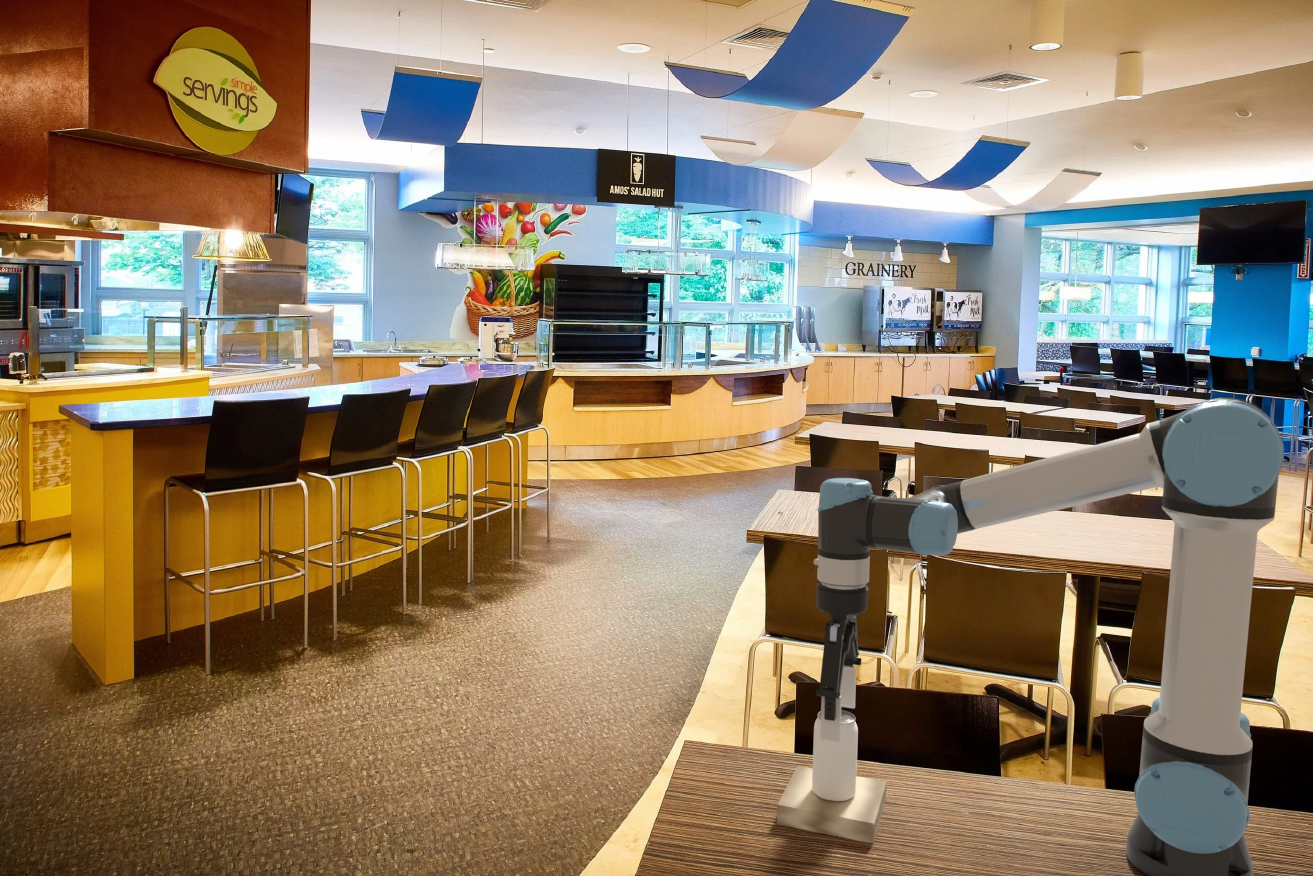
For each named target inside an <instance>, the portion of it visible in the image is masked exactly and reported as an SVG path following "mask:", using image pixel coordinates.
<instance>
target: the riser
mask: <svg viewBox="0 0 1313 876" xmlns="http://www.w3.org/2000/svg"><path fill="white" fill-rule="evenodd" d="M812 772H813V767H808V766H802V765H797V766H796V768H795V770H794V772H793V774H792V775H791V778H790V779H789V782H788V784H787V786H786V787H785V789H784V791H783V793H782V794H781V797H780V799H779V801H778V803H777V806H776V807H777V808H776V811H777V812H776V825H780V826H785V827H788V826H789V827H790V828H795V829H799V830H804V831H809V832H813V833H820V834H824V835H829V836H832V837H837V836H838V838H842V837H843V839H847V840H848V839H849V840H851V841H852V840H853V841H858V842H861V843H862V842H863V843H868V844H874V843H875V839H876V835H877V832H878V829H879V826H880V825H879V824H880V822H881V819H882V816H883V811H884V807H885V804H886V800H887V781H886V780H881V779H875V778H871V777H869V778H868V777H863V776H859V775H858V776H857V775H856V792H855V795H854V796H853V797H852V798H851V799H850V800H848V801H844V802H831V801H826V800H823V799H821V798H819V797H818V796H816V795H815V793H814V792H813V790H812ZM789 827H788V828H789Z"/></svg>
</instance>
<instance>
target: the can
mask: <svg viewBox="0 0 1313 876" xmlns="http://www.w3.org/2000/svg"><path fill="white" fill-rule="evenodd" d="M820 737H821V710H820V711H818V713H817V718H816V720H815V722H814V726H813V746H812V747H813V748H812V750H813V751H812V768H813V772H812V790H813V792H814V793H815V795H816V796H818V797H819V798H821V799H823V800H826V801H831V802H844V801H848V800H850V799H851V798H852V797H853V796H854V795H855V792H856V776H857V770H858V767H857V766H858V765H857V764H858V744H859V743H858V741H859V739H858V737H859V729H858V724H857V723H856V716H855V715H854V714H853V713H851V712H850V711H847V710H843V709H841V732H840V742H835V741H829V740H823V739H820Z"/></svg>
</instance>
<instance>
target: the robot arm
mask: <svg viewBox="0 0 1313 876" xmlns="http://www.w3.org/2000/svg"><path fill="white" fill-rule="evenodd" d="M1284 446H1285V445H1284V441H1283V438H1282V436H1281V433H1280V431H1279V429H1278V428H1277V426H1276V425H1275V422H1274V421H1273V420H1272V419H1271V418H1270V416H1269V415H1268V414H1267V413H1266V412H1265V411H1264V410H1263V409H1261V408H1260V407H1258V405H1255V404H1253V403H1251V402H1248V401H1246V400H1244V399H1238V398H1234V397H1217V398H1212V399H1208V400H1207V399H1206V400H1204V401H1202V402H1200V403H1198V404H1195V405H1193V406H1191V407H1189V408H1188V409H1185V410H1184V411H1181V412H1178V413H1176V414H1173V415H1171V416H1169V417H1165V418H1162V419H1159V420H1156V421H1152V422H1148V423H1146V424H1145V426H1144V428H1143V429H1142V430H1141V432H1140V433H1135V434H1132V435H1128V436H1124V437H1120V438H1118V439H1117V438H1116V439H1114V440H1113V439H1112V440H1109V441H1106V442H1101V443H1098V444H1094V445H1091V446H1088V447H1084V448H1079V449H1076V450H1073V451H1068V452H1065V453H1061V454H1057V455H1053V456H1050V457H1046V458H1042V459H1038V460H1034V461H1032V462H1030V461H1029V462H1028V463H1023V464H1020V465H1019V464H1018V465H1015V466H1013V467H1009V468H1005V469H1001V470H997V471H993V472H990V473H986V474H983V475H978V476H975V477H972V478H968V479H963V480H961V481H957V482H953V483H949V484H946V485H936V486H933V487H929V488H927V489H925V490H924V491H922V492H920V493H917V494H915V495H912V496H909V497H907V498H905V497H891V496H880V495H876V494H874V491H873V490H872V483H871V482H869V481H868V480H865V479H859V478H853V477H834V478H828V479H826V480H824V481H823V482H822V483H821V484H820V487H819V488H820V489H819V499H818V500H819V501H818V507H817V513H818V516H817V517H818V519H817V520H818V522H817V524H818V525H817V526H818V527H817V530H818V533H817V535H818V536H817V558H815V559H813V564H814V565H815V566H818V567H817V570H816V571H817V572H816V573H817V576H816V579H817V580H818V581H819V582H818V583H817V584H816V592H815V594H816V596H815V597H816V598H815V599H816V601H815V605H816V608H818V609H819V611H821V612H824V613H827V614H829V615H830V618H829V620H828V622H826V625H825V627H824V642H823V650H822V651H823V653H822V661H821V671H820V673H821V674H820V681H819V689H816V690H815V696H817V697H821V704H820V705H821V706H820V711H821V737H820V739H823V740H829V741H835V742H840V732H841V710H842V708H847V709H855V708H856V695H857V694H856V687H857V686H856V685H857V666H860V667H861V665H862V658H861V657H859V655H860V652H859V643H858V642H859V640H858V623H857V622H858V621H857V616H858V615H860V614H864V613H865V612H867V610H868V607H869V587H868V585H867V584H868V583H869V582H870V565H871V564H870V563H871V562H870V561H871V560H870V559H871V556H870V553H871V552H870V551H871V550H870V548H874V549H882V550H883V549H884V550H891V551H898V552H905V553H912V554H919V555H922V556H929V555H931V556H932V555H933V556H946V555H949V554H950V553H951V552H952V551H953V549H954V546H955V545H956V542H957V536H958V535H959V534H962V533H963V534H964V533H967V532H971V531H974V530H978V529H982V528H986V527H990V526H995V525H1000V524H1004V523H1008V522H1012V521H1018V520H1021V519H1025V518H1030V517H1034V516H1038V515H1042V514H1046V513H1050V512H1055V511H1059V510H1064V509H1068V508H1073V507H1076V506H1077V507H1078V506H1080V505H1086V504H1089V503H1093V502H1098V501H1102V500H1106V499H1111V498H1115V497H1120V496H1125V495H1129V494H1134V493H1138V492H1142V491H1146V490H1151V489H1153V488H1161V489H1162V502H1161V503H1162V504H1161V509H1162V510H1163V511H1164V512H1165V514H1166V515H1168V517H1169V518H1170V519H1172V522H1173V524H1174V527H1173V538H1172V539H1173V540H1172V550H1171V562H1170V563H1171V564H1170V573H1169V574H1170V575H1169V588H1168V596H1167V598H1168V599H1167V607H1166V608H1167V611H1166V622H1165V633H1164V645H1163V646H1164V647H1163V657H1162V668H1161V680H1160V681H1161V682H1160V691H1159V692H1160V693H1159V697H1158V698H1155V699H1154V700H1153V701H1152V703H1151V709H1150V712H1149V714H1148V716H1147V717H1146V718H1145V719H1144V721H1143V730H1142V739H1141V740H1142V741H1141V742H1142V743H1141V753H1140V762H1139V763H1140V766H1139V775H1138V778H1137V780H1136V782H1135V784H1134V799H1135V805H1136V808H1137V811H1138V813H1137V814H1136V816H1135V819H1134V820H1133V823H1132V825H1131V826H1130V828H1129V830H1128V832H1127V836H1126V845H1125V855H1126V856H1127V859H1128V861H1129V862H1130V863H1131V865H1133V867H1135V868H1136V869H1137V870H1139V871H1140V872H1141V873H1142V872H1143V874H1144V875H1145V874H1146V876H1147V875H1148V876H1253V875H1254V866H1253V861H1252V858H1251V854H1250V851H1249V847H1248V843H1247V839H1246V836H1245V830H1246V829H1247V827H1248V825H1249V820H1250V808H1249V807H1248V801H1249V789H1250V777H1251V769H1252V768H1251V766H1252V755H1253V754H1252V753H1253V744H1254V743H1253V740H1252V739H1251V737H1252V734H1251V731H1250V728H1251V725H1250V724H1251V722H1250V719H1249V718H1248V717H1247V716H1246V715H1245V714H1244V712H1242V701H1243V692H1244V680H1245V669H1246V660H1247V659H1246V658H1247V649H1248V648H1247V647H1248V639H1249V625H1250V615H1251V605H1252V597H1253V596H1252V595H1253V594H1252V593H1253V587H1254V586H1253V584H1254V574H1255V564H1256V563H1255V562H1256V553H1257V540H1258V533H1259V531H1260V530H1261V529H1263V528H1265V527H1266V526H1267V525H1269V524H1270V523H1271V522H1273V521H1275V516H1276V505H1277V496H1278V487H1279V486H1278V485H1279V476H1280V471H1281V470H1282V468H1283V465H1284V457H1285V448H1284Z"/></svg>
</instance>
